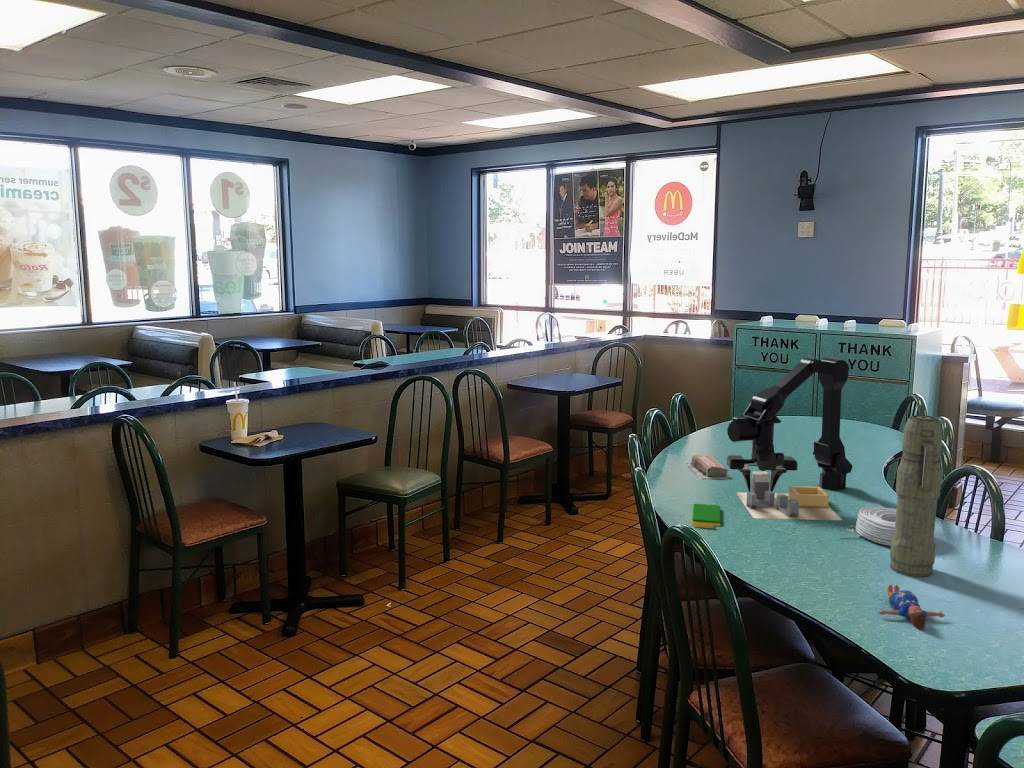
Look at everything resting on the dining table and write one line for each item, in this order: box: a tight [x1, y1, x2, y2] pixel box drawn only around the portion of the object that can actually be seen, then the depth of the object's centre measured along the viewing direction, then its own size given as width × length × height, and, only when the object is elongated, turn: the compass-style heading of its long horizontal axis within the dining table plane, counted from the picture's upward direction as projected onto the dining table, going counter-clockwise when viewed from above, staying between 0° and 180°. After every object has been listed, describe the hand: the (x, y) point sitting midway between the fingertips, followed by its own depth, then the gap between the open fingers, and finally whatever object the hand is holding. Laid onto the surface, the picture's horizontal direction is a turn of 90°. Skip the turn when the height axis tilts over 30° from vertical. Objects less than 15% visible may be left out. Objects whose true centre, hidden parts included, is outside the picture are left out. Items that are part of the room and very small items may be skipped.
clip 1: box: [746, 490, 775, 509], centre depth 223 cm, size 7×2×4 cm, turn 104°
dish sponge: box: [691, 503, 722, 530], centre depth 216 cm, size 7×14×2 cm, turn 166°
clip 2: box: [776, 495, 799, 517], centre depth 218 cm, size 7×2×4 cm, turn 12°
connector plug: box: [750, 470, 771, 499], centre depth 232 cm, size 4×4×7 cm
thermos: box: [889, 414, 943, 578], centre depth 179 cm, size 9×12×35 cm
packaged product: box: [686, 454, 731, 480], centre depth 259 cm, size 18×5×10 cm
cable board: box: [735, 491, 843, 521], centre depth 225 cm, size 23×23×1 cm
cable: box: [845, 506, 897, 547], centre depth 202 cm, size 18×18×6 cm
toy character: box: [878, 584, 946, 630], centre depth 160 cm, size 12×5×15 cm
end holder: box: [787, 485, 830, 508], centre depth 226 cm, size 8×8×4 cm
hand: (760, 491), depth 232 cm, fingers open, 6 cm apart
